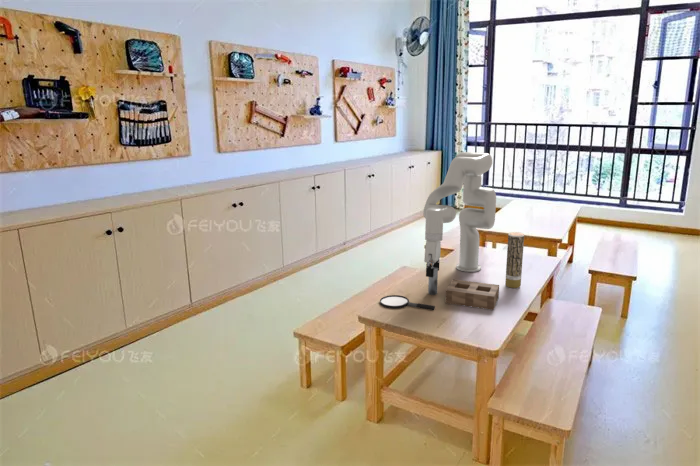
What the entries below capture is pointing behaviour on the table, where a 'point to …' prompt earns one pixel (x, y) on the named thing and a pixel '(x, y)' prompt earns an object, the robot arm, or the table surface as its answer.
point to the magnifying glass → (401, 303)
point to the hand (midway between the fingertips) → (432, 273)
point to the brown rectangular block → (472, 294)
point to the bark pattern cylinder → (514, 259)
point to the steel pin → (433, 282)
